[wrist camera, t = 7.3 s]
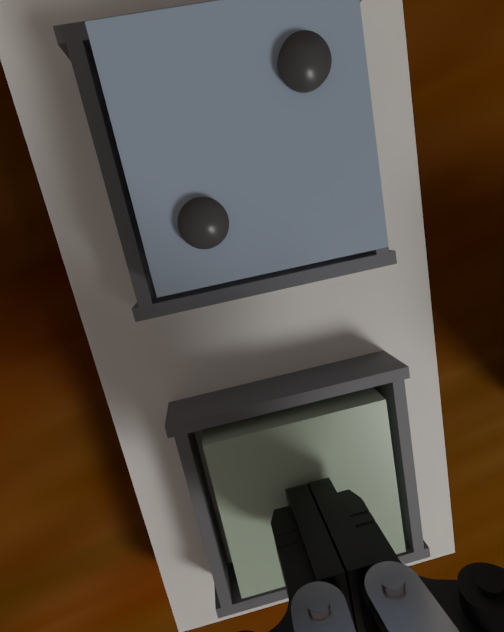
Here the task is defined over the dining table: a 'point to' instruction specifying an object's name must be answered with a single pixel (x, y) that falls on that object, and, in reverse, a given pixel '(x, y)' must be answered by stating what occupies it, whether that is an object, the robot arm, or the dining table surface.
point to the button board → (230, 307)
